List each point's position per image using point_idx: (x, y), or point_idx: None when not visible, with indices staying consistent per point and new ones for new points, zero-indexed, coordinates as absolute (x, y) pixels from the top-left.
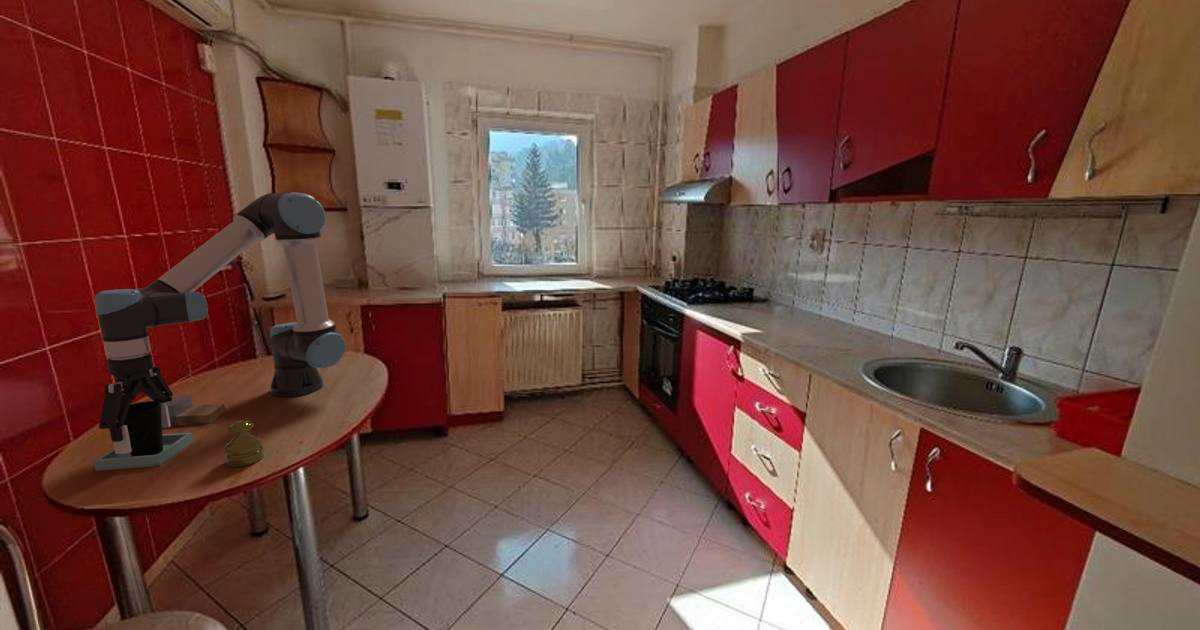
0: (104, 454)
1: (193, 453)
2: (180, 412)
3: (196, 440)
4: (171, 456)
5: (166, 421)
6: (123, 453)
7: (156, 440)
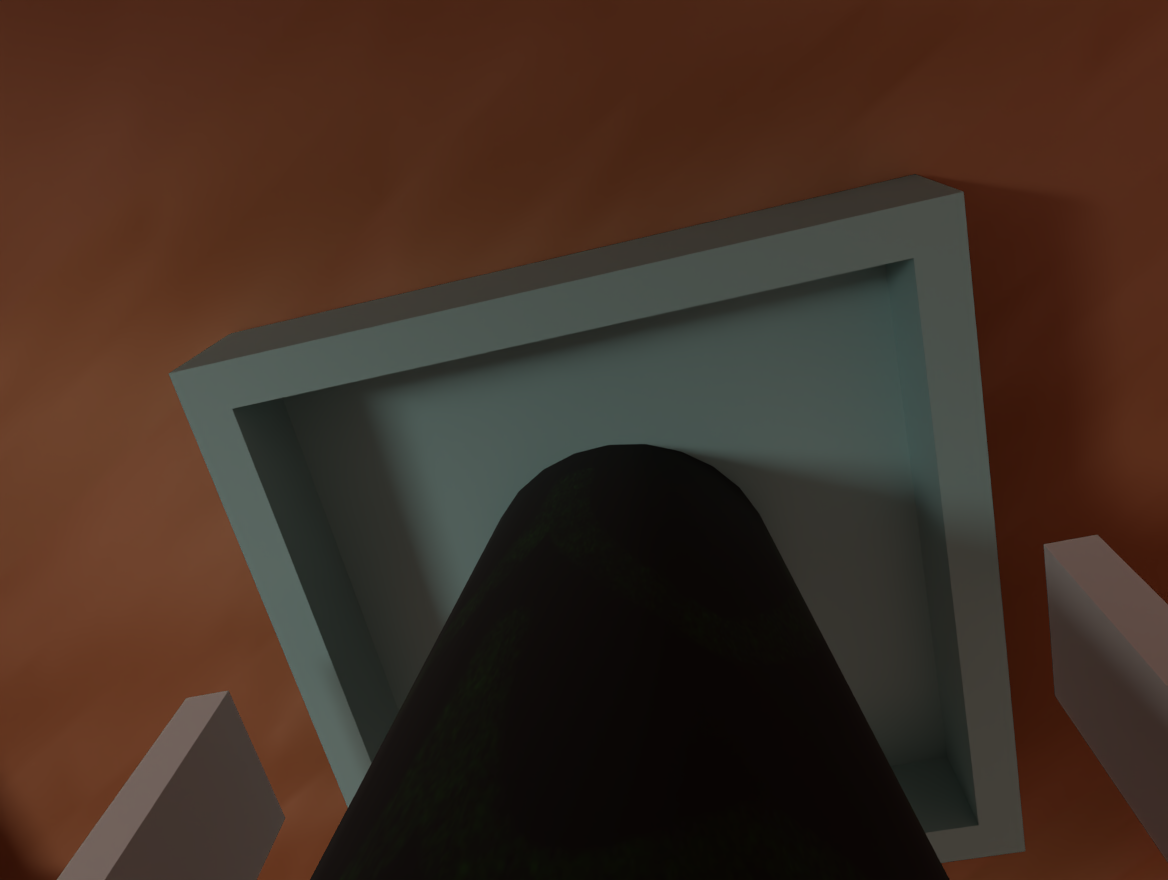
0: None
1: (553, 19)
2: None
3: (198, 320)
4: (687, 229)
5: (191, 776)
6: None
7: (655, 512)
